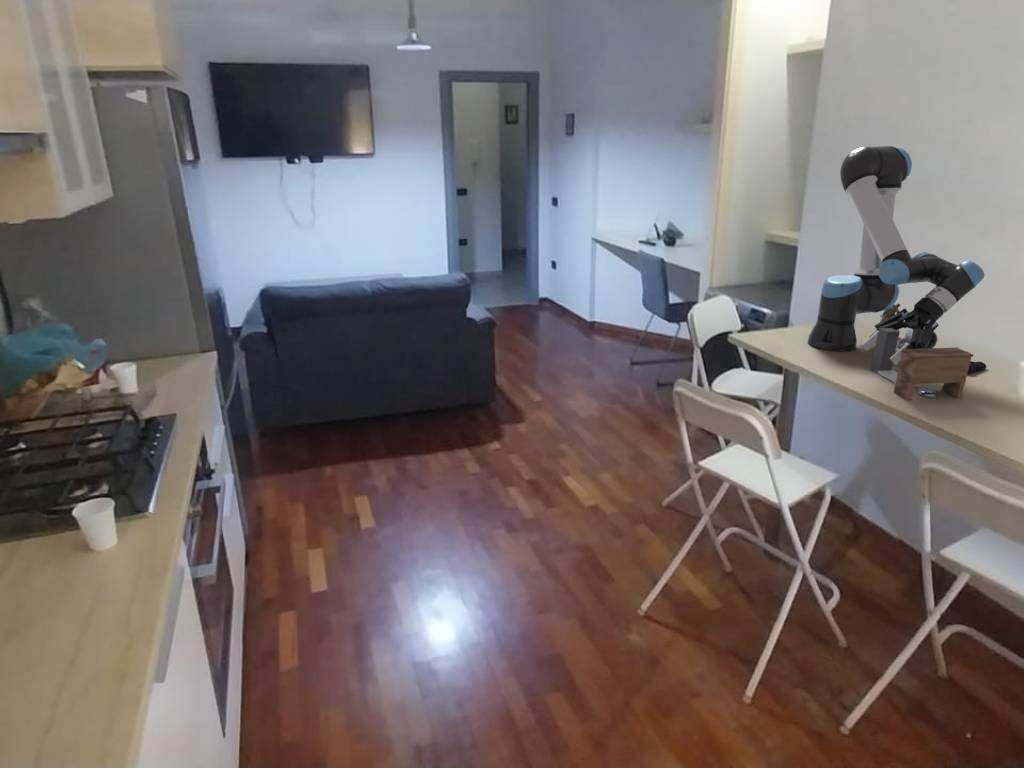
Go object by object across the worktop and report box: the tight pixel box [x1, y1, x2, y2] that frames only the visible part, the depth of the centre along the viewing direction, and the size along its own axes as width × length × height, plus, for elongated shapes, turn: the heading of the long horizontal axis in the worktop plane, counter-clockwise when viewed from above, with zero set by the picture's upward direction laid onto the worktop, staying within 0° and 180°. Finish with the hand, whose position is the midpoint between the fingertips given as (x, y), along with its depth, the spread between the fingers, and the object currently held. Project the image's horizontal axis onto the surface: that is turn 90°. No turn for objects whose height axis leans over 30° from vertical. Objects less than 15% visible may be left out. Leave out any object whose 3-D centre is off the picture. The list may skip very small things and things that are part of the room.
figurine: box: [879, 302, 901, 332], centre depth 241 cm, size 7×7×12 cm
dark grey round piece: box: [917, 388, 938, 399], centre depth 189 cm, size 4×4×1 cm
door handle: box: [967, 360, 987, 375], centre depth 215 cm, size 3×20×16 cm
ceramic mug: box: [896, 327, 938, 349], centre depth 229 cm, size 11×8×8 cm
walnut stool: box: [893, 347, 974, 401], centre depth 187 cm, size 6×16×13 cm, turn 97°
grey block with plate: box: [870, 328, 921, 388], centre depth 200 cm, size 16×5×13 cm, turn 7°
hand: (878, 354), depth 206 cm, fingers open, 13 cm apart
